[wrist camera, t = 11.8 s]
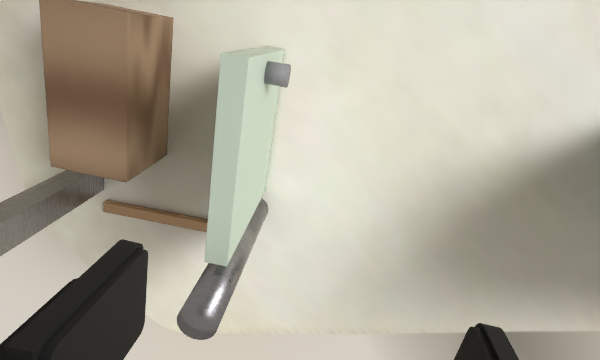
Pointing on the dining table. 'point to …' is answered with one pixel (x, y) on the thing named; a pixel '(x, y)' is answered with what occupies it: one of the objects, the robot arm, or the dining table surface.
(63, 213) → the door frame
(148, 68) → the block
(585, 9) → the dining table surface
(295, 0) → the dining table surface
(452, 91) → the dining table surface
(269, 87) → the door
